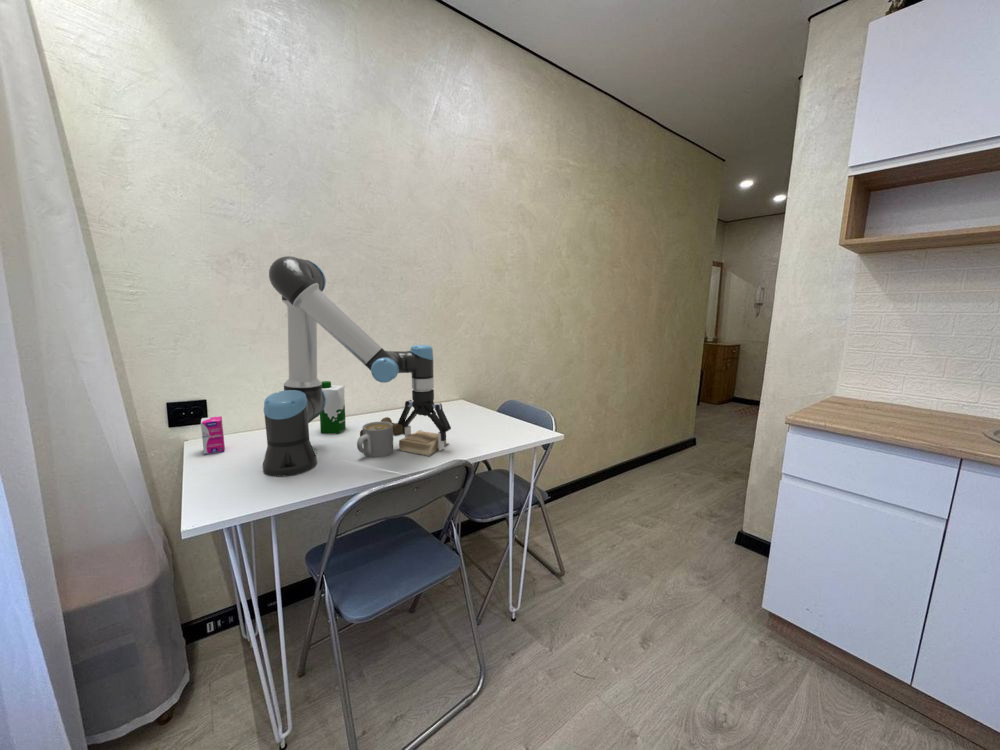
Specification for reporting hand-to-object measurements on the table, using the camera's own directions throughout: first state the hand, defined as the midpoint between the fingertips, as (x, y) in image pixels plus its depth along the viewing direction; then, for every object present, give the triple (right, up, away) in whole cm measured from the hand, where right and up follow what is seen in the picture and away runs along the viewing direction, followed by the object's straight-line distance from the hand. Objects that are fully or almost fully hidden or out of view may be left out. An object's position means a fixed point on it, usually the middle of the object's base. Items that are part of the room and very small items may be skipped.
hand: (424, 446), depth 143 cm
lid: (0, 0, 0) cm, 1 cm away
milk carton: (-40, +3, +17) cm, 44 cm away
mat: (0, -1, 0) cm, 1 cm away
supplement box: (-71, 0, -6) cm, 71 cm away
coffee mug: (-16, -2, -6) cm, 17 cm away
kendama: (-18, +2, +13) cm, 22 cm away
